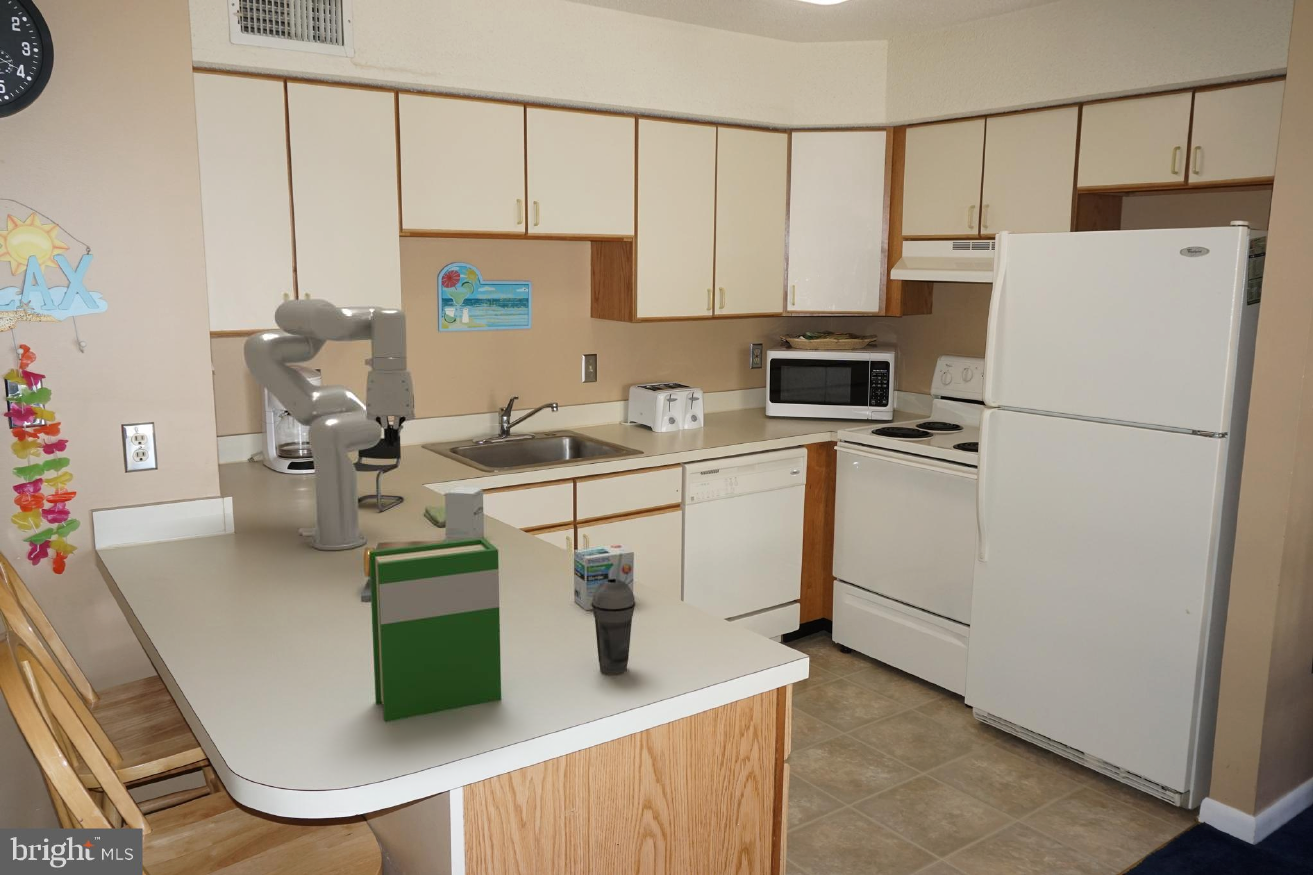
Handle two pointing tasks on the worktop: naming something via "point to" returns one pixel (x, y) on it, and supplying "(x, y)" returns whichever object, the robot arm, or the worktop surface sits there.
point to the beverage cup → (613, 623)
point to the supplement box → (464, 514)
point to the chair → (380, 467)
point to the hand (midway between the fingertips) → (391, 445)
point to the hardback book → (435, 627)
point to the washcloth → (436, 515)
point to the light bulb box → (599, 570)
